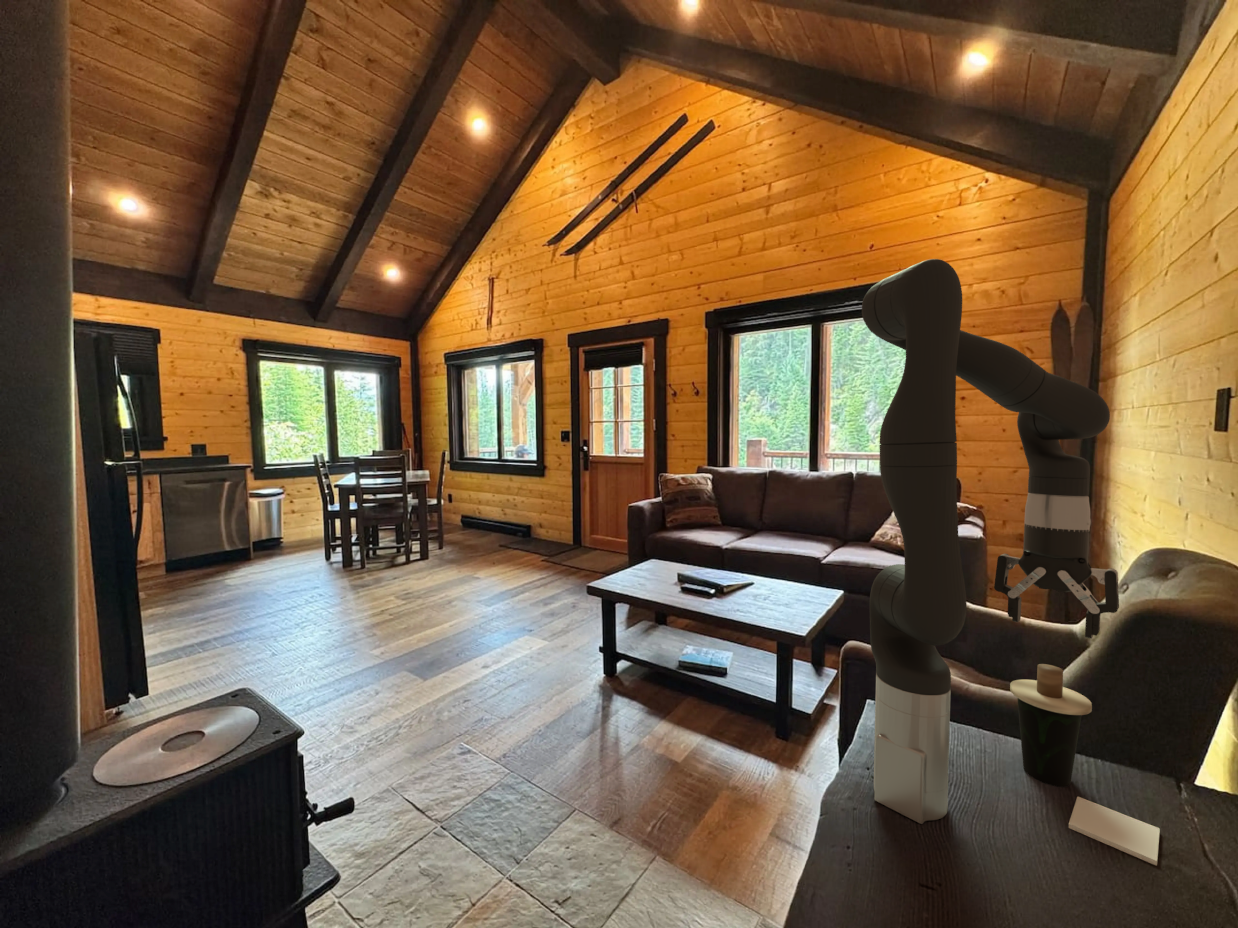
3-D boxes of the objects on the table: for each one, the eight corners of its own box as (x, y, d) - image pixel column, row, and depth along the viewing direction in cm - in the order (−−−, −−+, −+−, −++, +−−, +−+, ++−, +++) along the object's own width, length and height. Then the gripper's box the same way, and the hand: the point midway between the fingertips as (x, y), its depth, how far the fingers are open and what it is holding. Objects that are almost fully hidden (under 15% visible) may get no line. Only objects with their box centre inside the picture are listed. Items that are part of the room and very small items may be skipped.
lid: (1086, 722, 70) (1088, 688, 70) (1003, 696, 77) (1004, 666, 77) (1095, 700, 76) (1096, 669, 76) (1017, 678, 84) (1018, 650, 83)
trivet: (1156, 865, 60) (1157, 860, 60) (1068, 827, 66) (1068, 823, 66) (1159, 832, 65) (1159, 828, 65) (1077, 800, 71) (1077, 796, 71)
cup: (1054, 761, 81) (1056, 688, 80) (1094, 793, 73) (1096, 712, 73) (1003, 757, 81) (1005, 685, 81) (1037, 789, 74) (1040, 709, 73)
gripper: (992, 520, 79) (988, 621, 79) (1119, 532, 68) (1114, 649, 69) (1004, 516, 84) (1000, 611, 84) (1124, 528, 73) (1118, 636, 74)
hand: (1051, 628), depth 77 cm, fingers open, 8 cm apart
